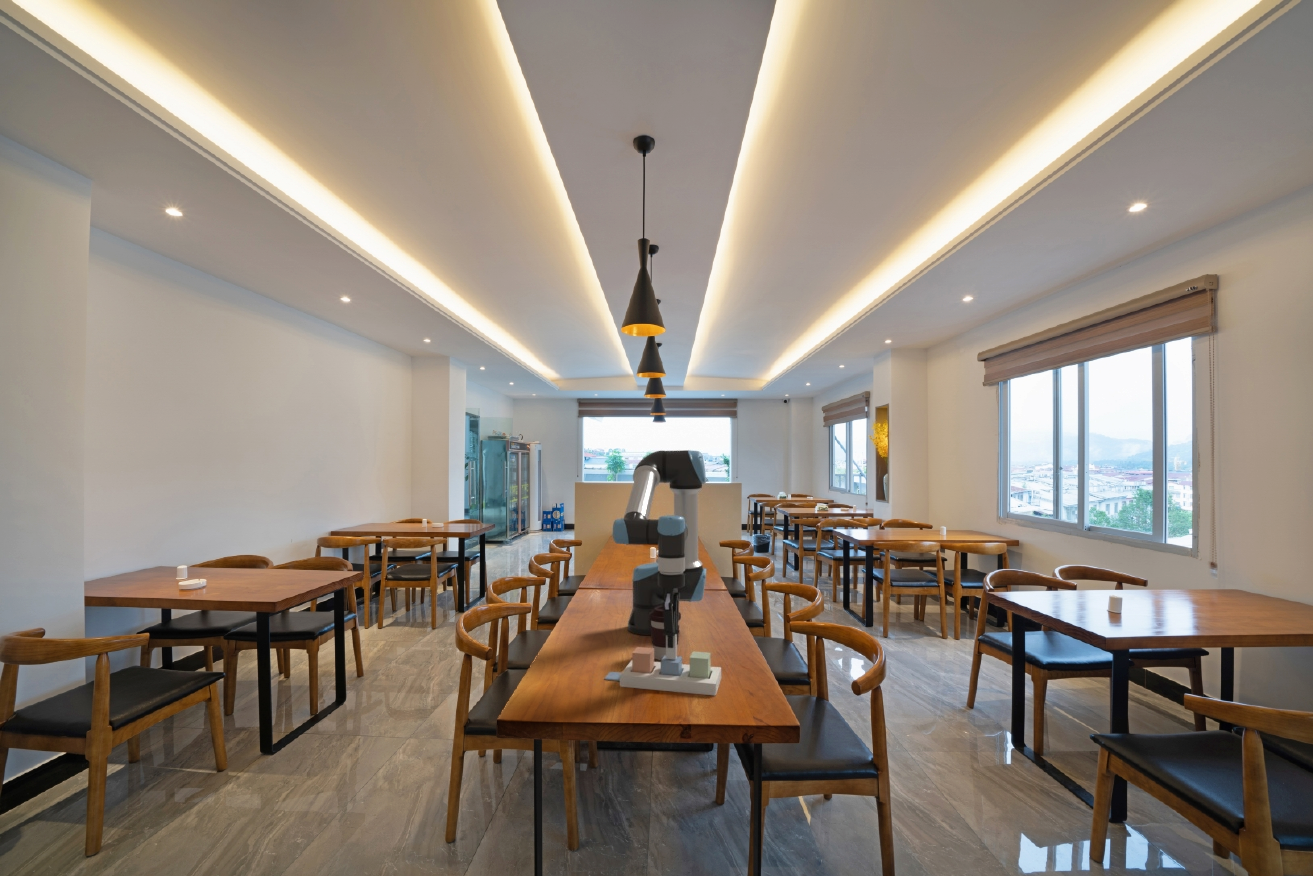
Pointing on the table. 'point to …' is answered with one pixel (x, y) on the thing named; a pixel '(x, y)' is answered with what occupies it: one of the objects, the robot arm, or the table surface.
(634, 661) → the button terracotta
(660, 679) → the button board
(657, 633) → the coffee cup
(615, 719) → the table surface
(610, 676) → the swatch
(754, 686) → the table surface
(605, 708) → the table surface
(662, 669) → the button slate
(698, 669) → the button sage
